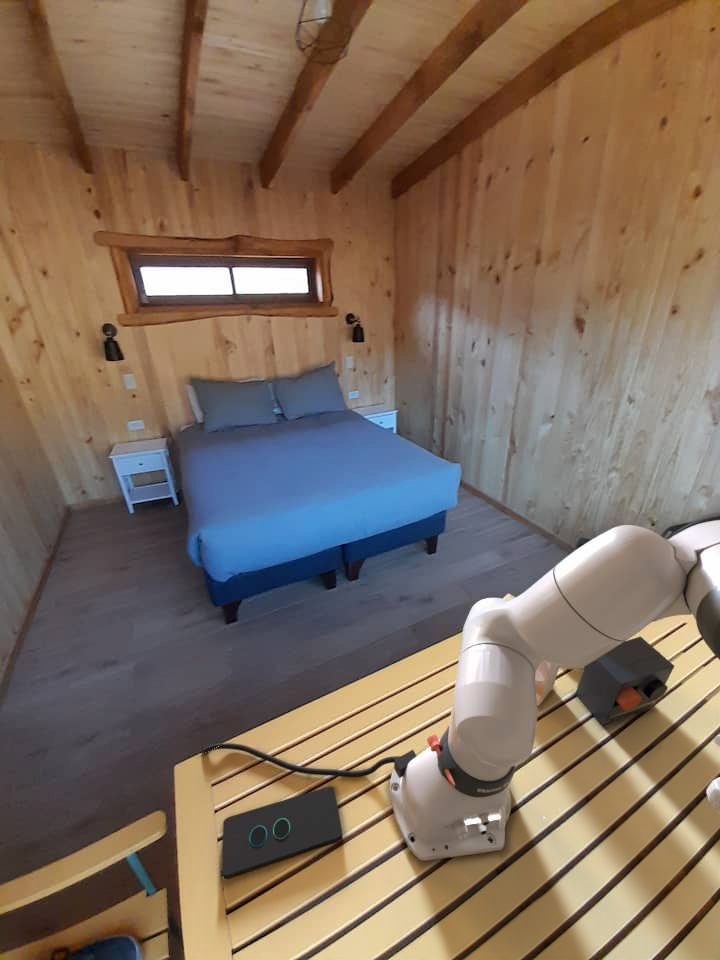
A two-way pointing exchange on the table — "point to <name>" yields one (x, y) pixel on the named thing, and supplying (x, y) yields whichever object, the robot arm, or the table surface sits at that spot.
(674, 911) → the table surface
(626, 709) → the knob
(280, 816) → the smart home device
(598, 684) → the box
